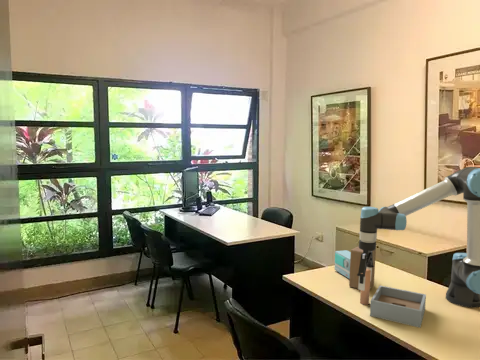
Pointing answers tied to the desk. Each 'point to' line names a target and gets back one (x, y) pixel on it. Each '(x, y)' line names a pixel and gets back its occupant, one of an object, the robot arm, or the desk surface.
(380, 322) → the desk surface
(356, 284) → the wooden block
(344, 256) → the radio
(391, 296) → the bore box
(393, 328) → the desk surface
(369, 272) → the peg
